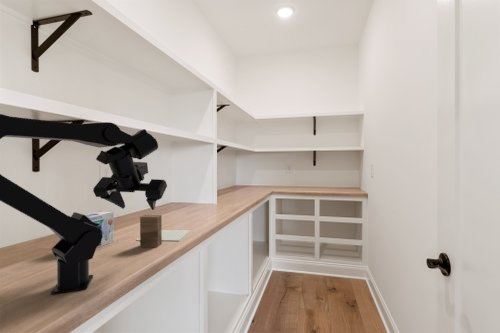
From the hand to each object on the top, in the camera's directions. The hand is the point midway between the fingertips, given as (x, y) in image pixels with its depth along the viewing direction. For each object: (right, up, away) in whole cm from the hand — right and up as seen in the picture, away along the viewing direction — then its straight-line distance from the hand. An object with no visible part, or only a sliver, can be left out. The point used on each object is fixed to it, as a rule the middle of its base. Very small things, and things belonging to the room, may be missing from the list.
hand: (138, 208), depth 75 cm
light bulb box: (-19, -15, +9) cm, 26 cm away
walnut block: (0, -14, +8) cm, 16 cm away
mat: (+1, -14, +20) cm, 25 cm away
